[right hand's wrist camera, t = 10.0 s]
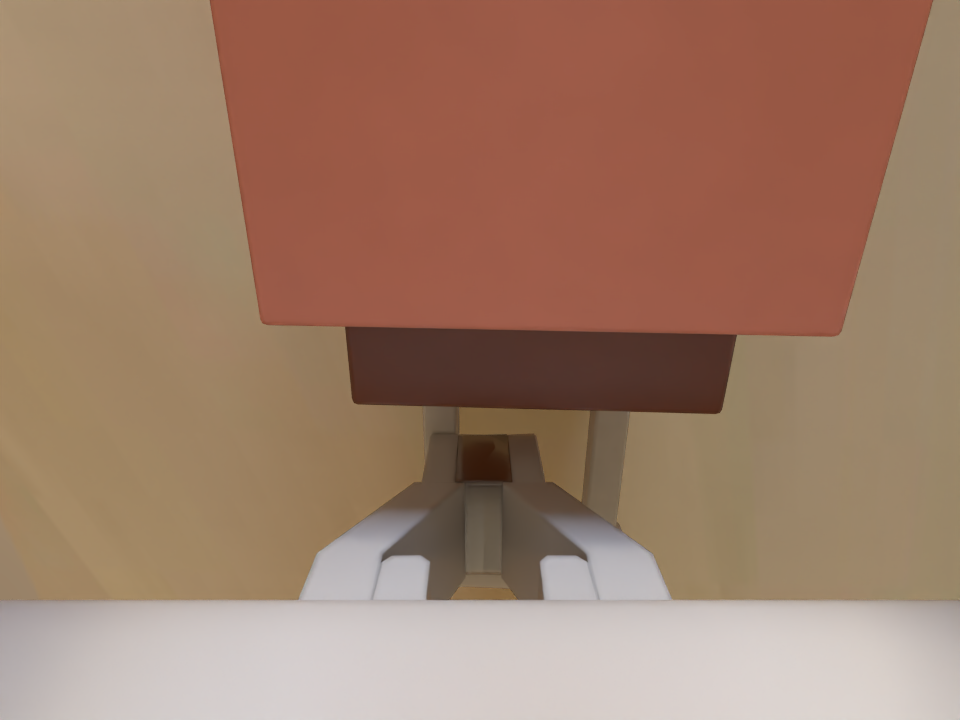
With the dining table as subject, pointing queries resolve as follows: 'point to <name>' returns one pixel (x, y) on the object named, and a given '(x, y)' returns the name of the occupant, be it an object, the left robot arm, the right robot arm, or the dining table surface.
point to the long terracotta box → (563, 159)
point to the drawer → (543, 384)
